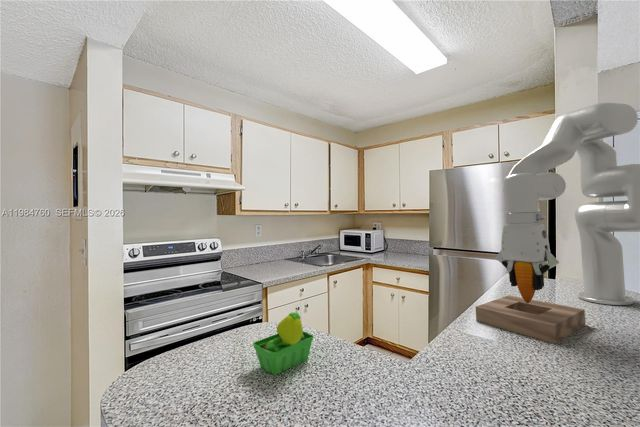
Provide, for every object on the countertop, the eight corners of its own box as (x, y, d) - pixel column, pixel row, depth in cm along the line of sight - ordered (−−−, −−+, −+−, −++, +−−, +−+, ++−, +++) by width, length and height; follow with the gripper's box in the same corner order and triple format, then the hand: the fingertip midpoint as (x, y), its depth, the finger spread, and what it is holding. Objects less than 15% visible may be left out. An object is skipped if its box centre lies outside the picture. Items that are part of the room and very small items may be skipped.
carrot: (544, 305, 74) (540, 247, 74) (524, 306, 74) (520, 248, 74) (530, 300, 79) (526, 245, 79) (512, 300, 79) (508, 246, 79)
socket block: (509, 308, 89) (508, 295, 89) (585, 325, 73) (584, 309, 73) (476, 321, 79) (475, 306, 79) (555, 343, 64) (554, 325, 64)
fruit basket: (294, 348, 68) (292, 300, 68) (320, 360, 61) (317, 307, 62) (252, 367, 60) (249, 313, 60) (277, 383, 54) (274, 322, 54)
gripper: (567, 218, 72) (572, 291, 71) (496, 219, 86) (500, 280, 86) (554, 219, 68) (559, 296, 67) (482, 220, 82) (486, 284, 82)
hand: (526, 286), depth 77 cm, fingers closed on carrot, 4 cm apart
